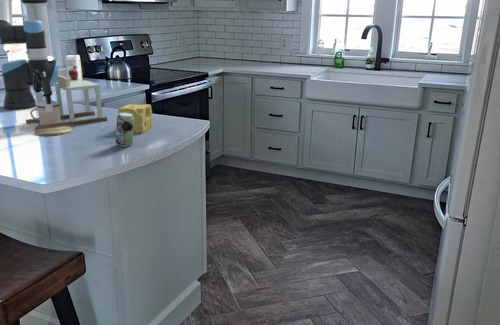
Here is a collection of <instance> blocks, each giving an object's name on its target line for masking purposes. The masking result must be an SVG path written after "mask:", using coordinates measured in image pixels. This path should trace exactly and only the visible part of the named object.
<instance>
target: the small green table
mask: <svg viewBox="0 0 500 325" xmlns="http://www.w3.org/2000/svg"><path fill="white" fill-rule="evenodd" d="M57 78H58V83H55V84H54V86H55V87H54V88H55V96H56V102H58V103H59V104H60V105H59V109H60V116H64V115H65V114H64V109H63V108H64V106H63V101H62V93H61V89H62V90H64V91H65V94H66V100H67V108H68V109H67V110H68V114H69V118H68V119H69V122H75V121H76V120H75V118H74V113H75V112H74V111H75V110H74V104H73V96H72V91H79V90H83V97H84V107H85V112H90V111H91V106H90V104H91V103H90V96H89V89H94V91H95V92H94V93H95V101H96V110H97V118H103V117H104V116H103V105H102V97H101V85H100V84H99V83H95V82H92V81H89V80H87V79H86V80H84V79H83V80H82V81H73V82H70V81H69V78H68V76H67V77H66V76H64V75H59V76H57Z"/></svg>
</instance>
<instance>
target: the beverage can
mask: <svg viewBox="0 0 500 325" xmlns="http://www.w3.org/2000/svg"><path fill="white" fill-rule="evenodd" d="M133 130H134V117H133V114H131V113H119V115H117V117H116V128H115V144H117V145H118V146H120V147H130V146H131V145H132V144H133V141H134V132H133Z"/></svg>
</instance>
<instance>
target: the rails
mask: <svg viewBox="0 0 500 325" xmlns="http://www.w3.org/2000/svg"><path fill="white" fill-rule="evenodd" d="M95 114H96V113H95V111H93V110H90V112H86V111H84V112H83V111H82V112H74V117H75V118H81V117H88V116H95ZM63 115H64V116H60V117H61V120H65V118H67V119H70V118H69V113H67V114H63ZM106 121H107V122H108V117H107V116H103V118H98V117H94V118H93V117H92V118H84V119H80V120H79V119H77V120H75V122H70V121H64V122H61V123H56V124H48V125H37V126H36V125H35V126H34V127H35V131H36V130H37V129H40V128H47V127H54V126H68V127H73V126H79V125H86V124H94V123H100V122H106ZM25 123H26V125H30V124H36V123H40V121H39V120H35V119H33V118H30V119H29V118H28V119H25Z"/></svg>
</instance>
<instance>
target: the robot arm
mask: <svg viewBox="0 0 500 325" xmlns="http://www.w3.org/2000/svg"><path fill="white" fill-rule="evenodd" d="M20 1H21V4H22V5H24V6H25V9H26V10H25V11H26V16H27V20H23V22H22V23H23V24H19V25H18V24H17V25H14V24H13V6H12V5H13V4H12V2H13V0H0V45H13V44H16V45H17V44H22V45H23V44H26V51H25V54H27V58H28V62H27V60H26V59H16V60H11V61H7V62H3V63H2V64H1V74H2V79H3V86H4V91H5V92H4V93H5V94H4V100H3V108H4V109H6V110H22V109H28V108H33V107H37V104H38V103H41V102H42V101H45V109H46V112H51V111H53V106H52V100H53V98H52V96H53V91H52V86H51V85H55V83H58V78H57V76H60V74H59V73H60V70H59V69H60V68H59V66H60V65H59V61H58V60H56V57H55V56H54V55H53V54H52V49H51V42H50V35H49V34H50V33H49V30H48V28H49V27H48V19H47V12H46V6H47V4H48V2H49V1H48V0H20ZM31 86H32V89H33V91H34V94H35V97H34V95H33V93H32V91H31Z"/></svg>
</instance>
